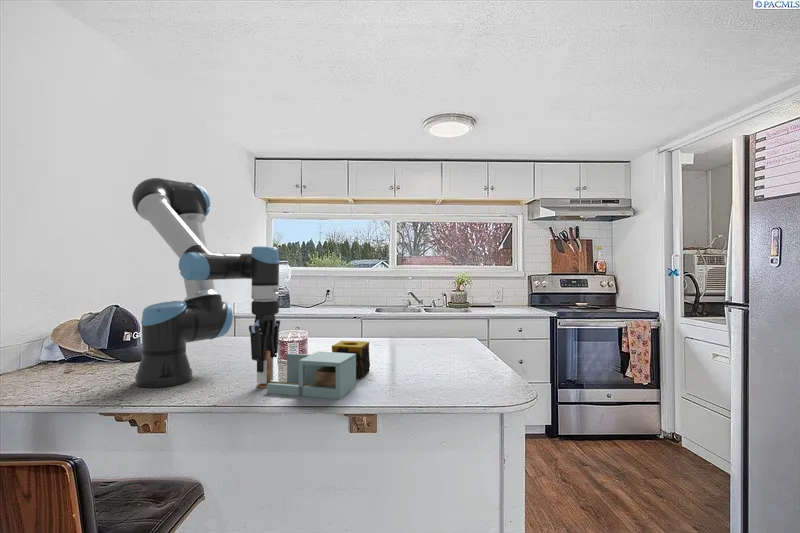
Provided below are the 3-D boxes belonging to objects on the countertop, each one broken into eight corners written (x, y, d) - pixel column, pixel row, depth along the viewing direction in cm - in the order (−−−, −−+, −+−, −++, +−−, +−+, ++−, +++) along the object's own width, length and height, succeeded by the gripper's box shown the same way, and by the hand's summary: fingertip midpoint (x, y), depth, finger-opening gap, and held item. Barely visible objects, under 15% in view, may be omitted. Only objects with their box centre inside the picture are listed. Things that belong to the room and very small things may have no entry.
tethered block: (252, 388, 127) (252, 353, 127) (263, 382, 133) (263, 349, 133) (335, 395, 121) (335, 358, 121) (343, 388, 127) (344, 353, 127)
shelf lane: (267, 393, 123) (267, 358, 123) (288, 381, 135) (289, 349, 135) (339, 399, 117) (340, 363, 117) (355, 386, 130) (356, 353, 129)
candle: (361, 379, 137) (361, 347, 137) (330, 377, 139) (330, 345, 139) (370, 371, 147) (370, 341, 147) (341, 370, 149) (341, 340, 149)
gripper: (262, 302, 121) (262, 390, 121) (290, 298, 136) (290, 375, 136) (237, 302, 123) (237, 388, 123) (268, 297, 138) (267, 374, 138)
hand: (265, 381), depth 130 cm, fingers closed on tethered block, 3 cm apart
